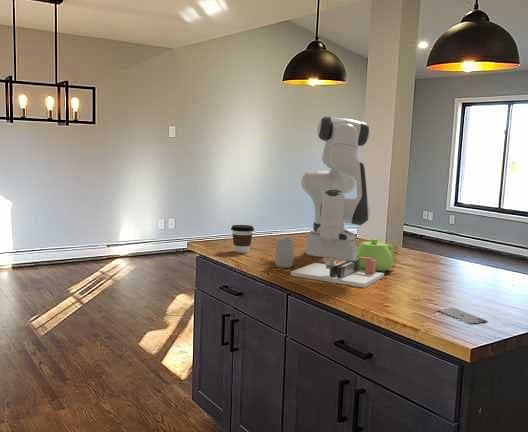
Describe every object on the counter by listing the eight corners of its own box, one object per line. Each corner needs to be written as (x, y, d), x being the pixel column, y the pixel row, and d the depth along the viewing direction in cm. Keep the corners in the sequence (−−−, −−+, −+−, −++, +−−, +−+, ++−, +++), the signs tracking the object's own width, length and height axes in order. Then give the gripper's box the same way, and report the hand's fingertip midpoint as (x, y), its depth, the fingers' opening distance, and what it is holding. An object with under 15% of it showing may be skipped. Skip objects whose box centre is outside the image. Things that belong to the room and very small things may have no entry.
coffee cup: (258, 252, 263) (259, 227, 262) (238, 254, 257) (238, 228, 256) (245, 248, 272) (246, 224, 271) (225, 250, 266) (226, 225, 265)
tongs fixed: (348, 268, 229) (348, 257, 228) (359, 270, 226) (359, 258, 226) (329, 276, 213) (330, 264, 212) (341, 278, 210) (342, 266, 210)
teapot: (353, 274, 225) (355, 242, 224) (338, 266, 240) (340, 236, 238) (402, 273, 231) (404, 241, 230) (385, 265, 246) (387, 235, 244)
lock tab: (359, 270, 226) (360, 256, 225) (375, 272, 223) (376, 258, 222) (357, 271, 224) (357, 257, 223) (372, 273, 220) (373, 259, 220)
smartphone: (453, 307, 181) (489, 320, 168) (453, 309, 182) (489, 323, 168) (435, 309, 178) (470, 323, 165) (435, 311, 178) (470, 326, 165)
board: (314, 266, 238) (315, 262, 238) (383, 276, 223) (384, 273, 223) (290, 275, 219) (290, 271, 219) (364, 287, 204) (364, 283, 204)
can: (291, 269, 231) (292, 240, 230) (273, 267, 233) (274, 238, 231) (294, 265, 238) (295, 237, 237) (276, 264, 240) (277, 236, 238)
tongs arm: (344, 270, 225) (345, 260, 224) (348, 270, 224) (348, 261, 223) (329, 276, 213) (330, 266, 212) (333, 276, 212) (333, 266, 211)
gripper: (303, 231, 217) (301, 266, 218) (353, 237, 206) (351, 274, 208) (310, 229, 222) (308, 264, 224) (359, 235, 212) (357, 271, 213)
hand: (329, 269), depth 216 cm, fingers closed
